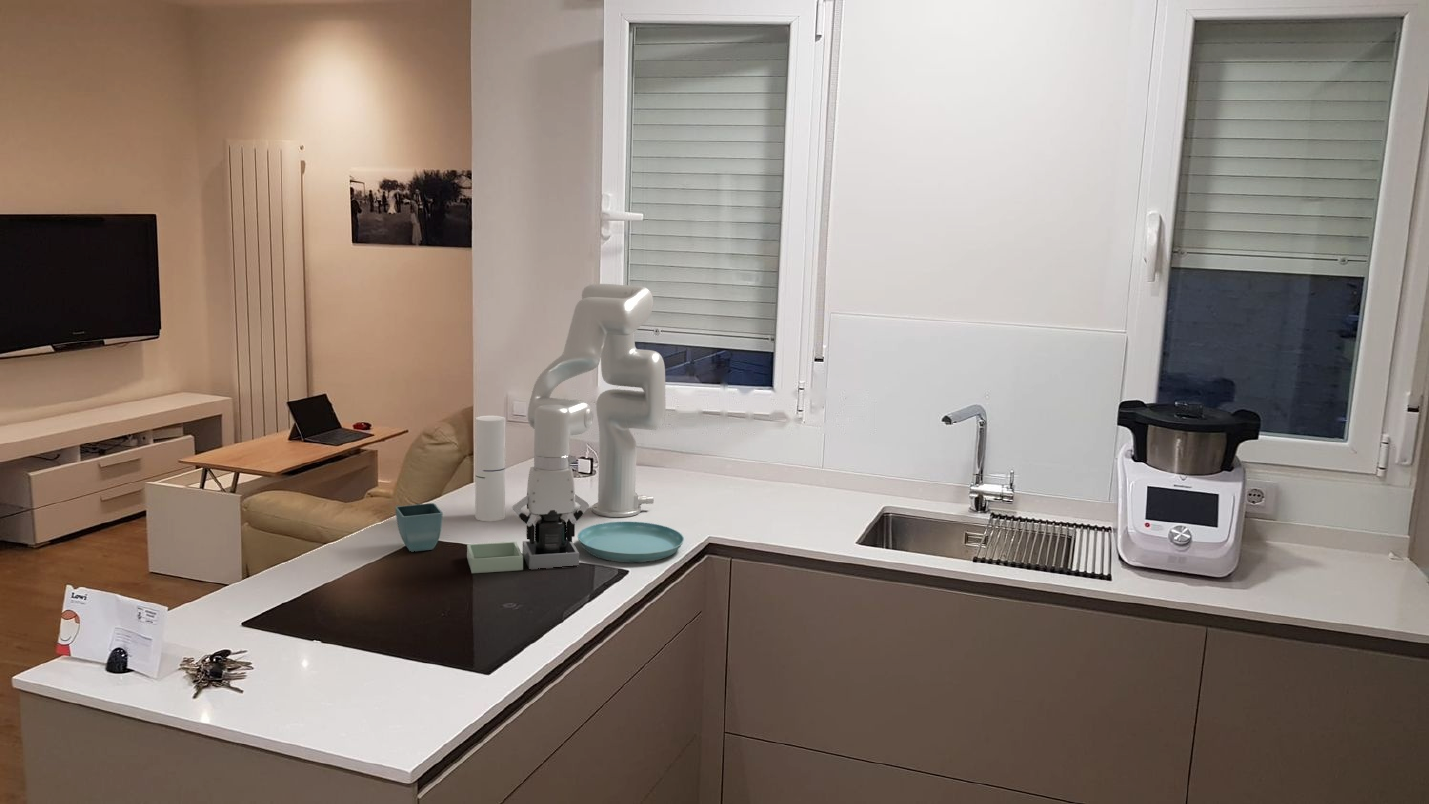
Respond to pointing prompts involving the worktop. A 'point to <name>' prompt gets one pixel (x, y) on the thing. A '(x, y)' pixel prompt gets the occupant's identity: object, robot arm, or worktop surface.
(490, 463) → the cylindrical container
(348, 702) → the worktop surface
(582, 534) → the teal plate
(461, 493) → the worktop surface
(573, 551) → the grey bin
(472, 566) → the green bin
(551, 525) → the supplement bottle
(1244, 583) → the worktop surface
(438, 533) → the flower pot
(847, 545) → the worktop surface
